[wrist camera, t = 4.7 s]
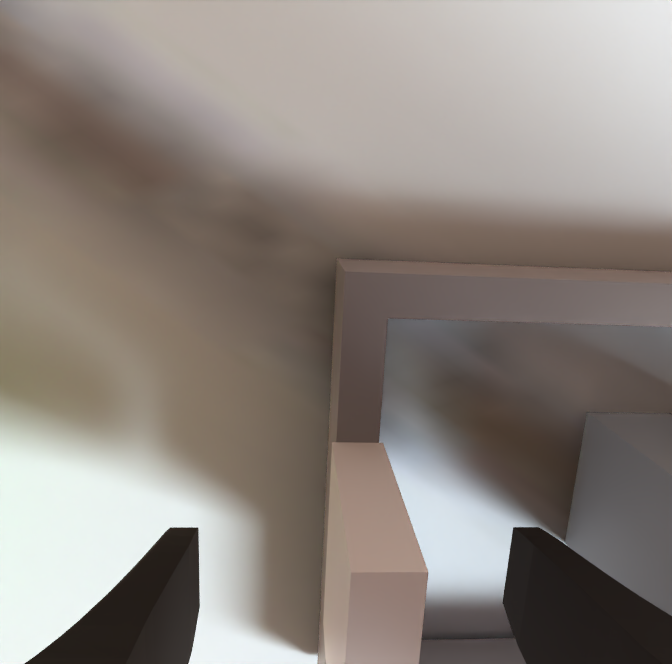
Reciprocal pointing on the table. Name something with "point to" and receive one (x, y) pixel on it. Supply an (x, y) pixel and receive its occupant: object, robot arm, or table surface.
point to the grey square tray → (371, 458)
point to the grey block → (626, 502)
